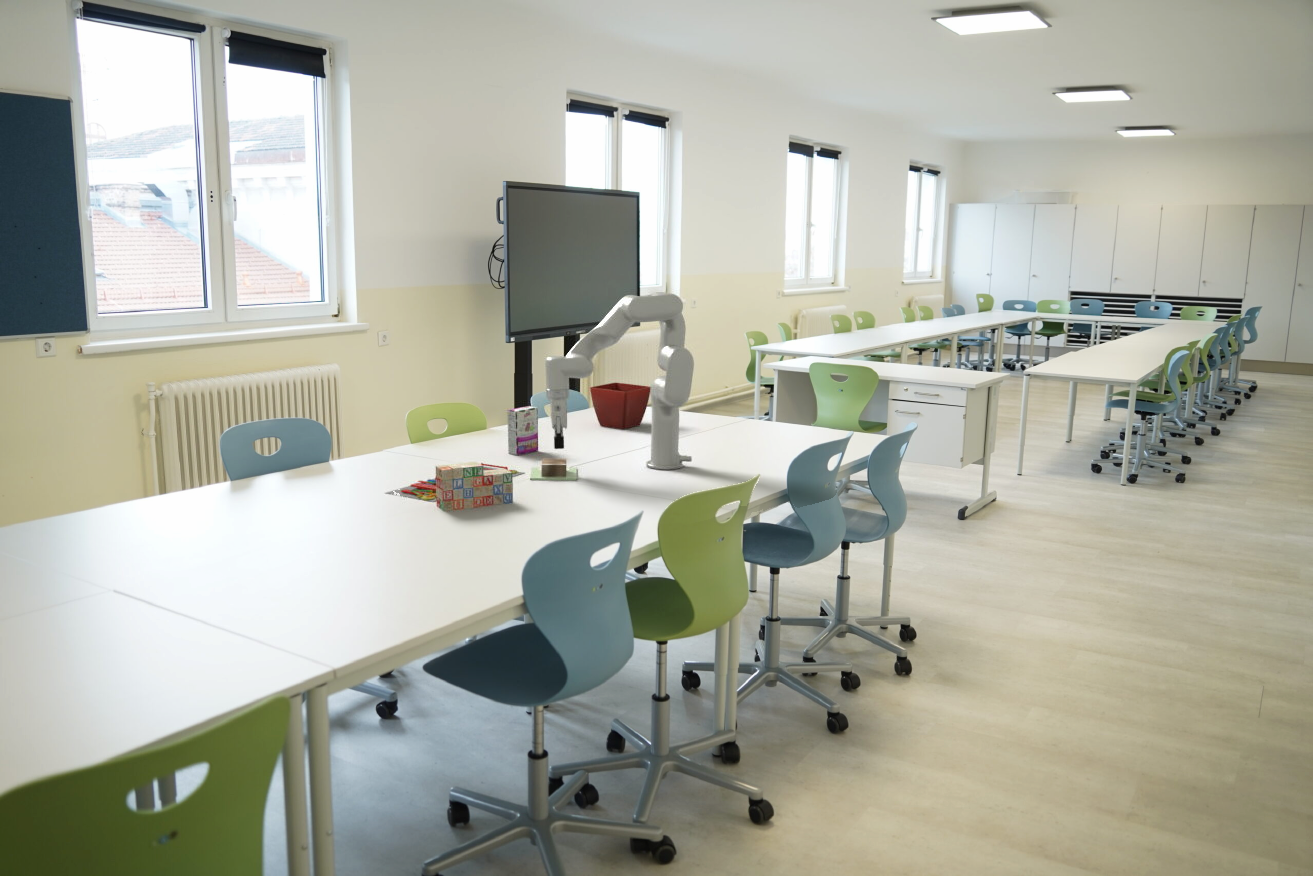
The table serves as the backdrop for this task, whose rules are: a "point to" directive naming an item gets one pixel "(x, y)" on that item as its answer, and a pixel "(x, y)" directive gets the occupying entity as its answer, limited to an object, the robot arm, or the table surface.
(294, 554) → the table surface
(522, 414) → the candy bar box
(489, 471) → the stack of blocks
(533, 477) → the green mat
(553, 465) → the walnut slab
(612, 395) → the plant pot
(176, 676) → the table surface
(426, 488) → the gear board
